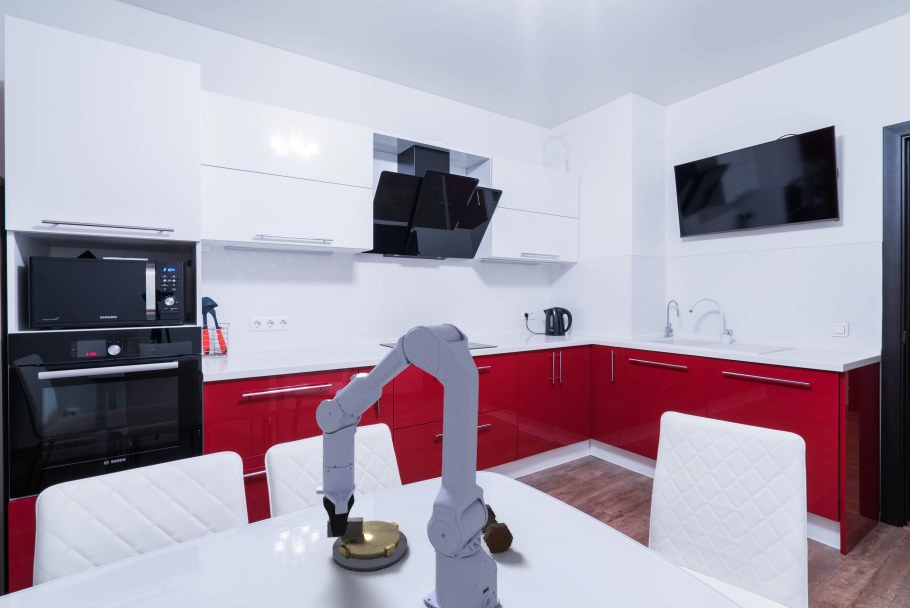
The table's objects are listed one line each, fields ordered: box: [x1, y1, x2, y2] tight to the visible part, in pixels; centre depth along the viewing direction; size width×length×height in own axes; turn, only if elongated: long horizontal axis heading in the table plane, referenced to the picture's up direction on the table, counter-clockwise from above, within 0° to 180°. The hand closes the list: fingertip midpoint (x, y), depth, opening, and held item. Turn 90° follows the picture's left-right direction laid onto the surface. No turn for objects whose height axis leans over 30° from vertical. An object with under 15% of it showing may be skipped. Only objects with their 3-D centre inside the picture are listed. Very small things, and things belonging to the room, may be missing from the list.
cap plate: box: [332, 530, 408, 573], centre depth 86 cm, size 14×14×1 cm
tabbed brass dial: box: [326, 516, 400, 559], centre depth 86 cm, size 12×12×4 cm
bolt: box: [481, 503, 514, 554], centre depth 92 cm, size 6×5×15 cm
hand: (338, 535), depth 84 cm, fingers closed, pressing on tabbed brass dial
